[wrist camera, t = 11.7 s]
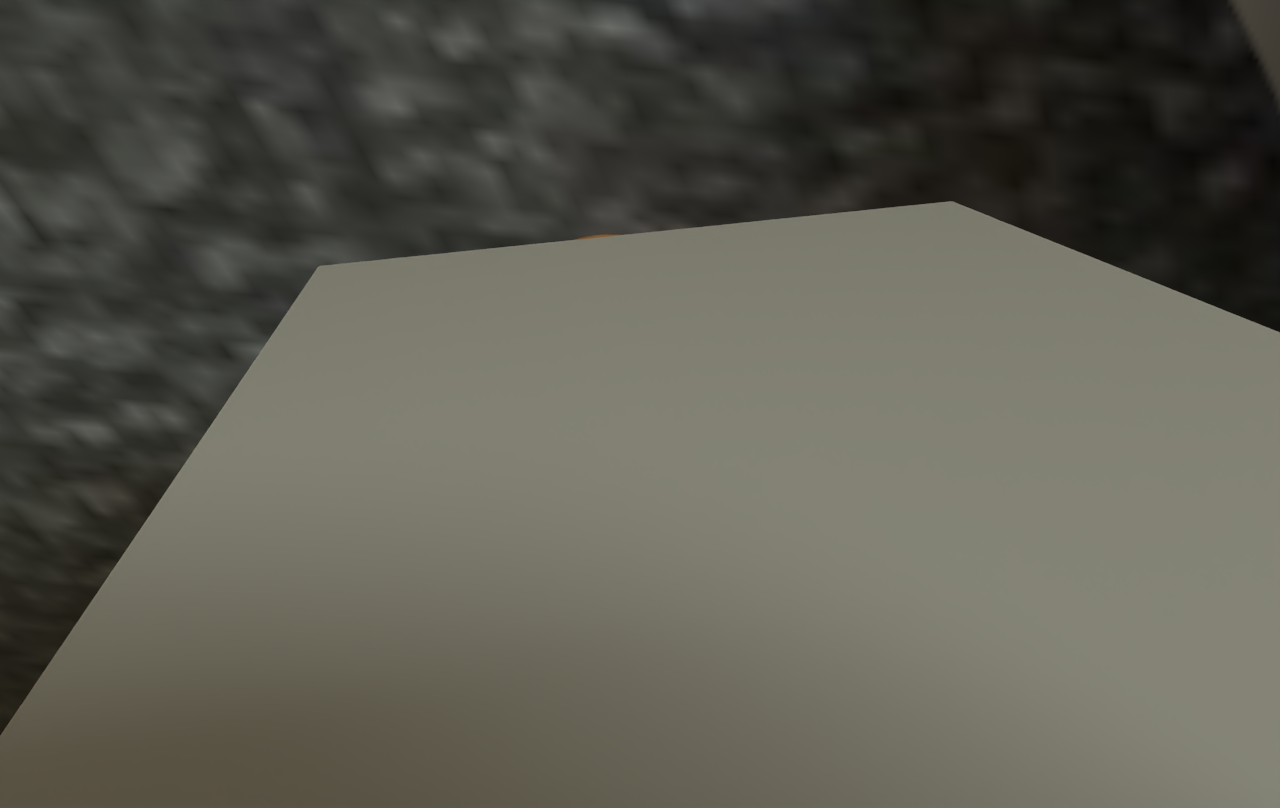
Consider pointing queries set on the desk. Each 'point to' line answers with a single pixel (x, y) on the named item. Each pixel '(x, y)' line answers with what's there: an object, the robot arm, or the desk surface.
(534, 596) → the plain beige cube
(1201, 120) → the desk surface
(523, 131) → the desk surface
